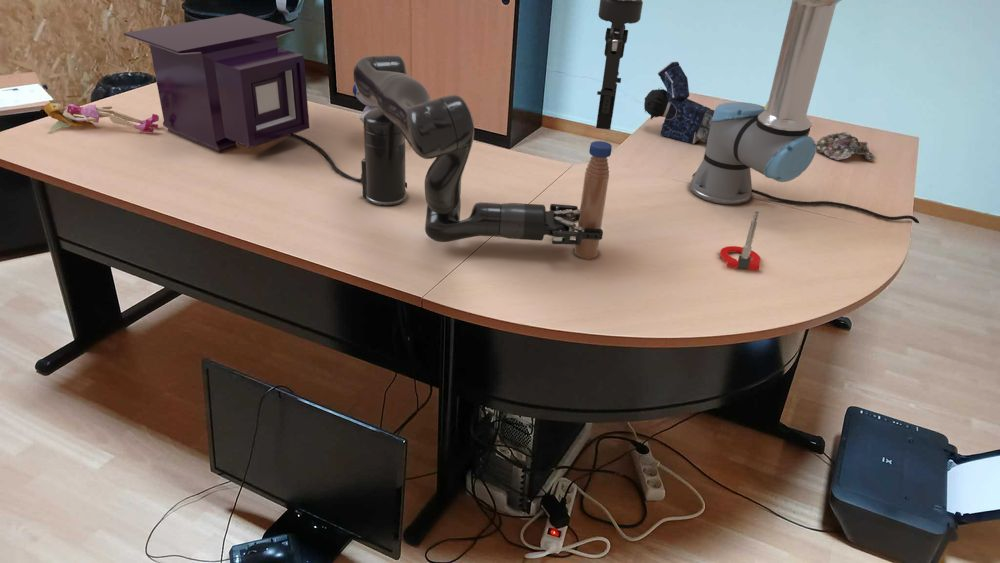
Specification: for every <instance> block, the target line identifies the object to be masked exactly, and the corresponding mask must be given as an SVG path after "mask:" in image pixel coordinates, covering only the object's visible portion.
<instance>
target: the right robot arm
mask: <svg viewBox="0 0 1000 563" xmlns="http://www.w3.org/2000/svg"><path fill="white" fill-rule="evenodd" d="M841 1H842V0H791V5H790V8H789V13H788V16H787V20H786V25H785V30H784V34H783V38H782V43H781V46H780V52H779V55H778V60H777V64H776V68H775V72H774V75H773V81H772V85H771V89H770V94H769V98H768V101H767V102H768V106H767V109H766V110H765V106H763V105H760V104H757V103H752V102H745V101H744V102H743V101H740V102H739V101H730V102H722V103H721V104H718V105H716V107H715V109H714V115H713V118H712V120H711V125H710V130H709V135H708V140H707V142H706V145H705V150H704V154H703V159H702V161H701V163H700V165H699V166H698V168H697V169H696V171H695V172H694V173H693V174H692V176H691V178H692V179H691V181H690V184H689V189H690V191H691V193H693V194H694V196H696V197H698V198H700V199H702V200H704V201H707V202H710V203H713V204H717V205H726V206H727V205H729V206H734V205H742V204H745V203H747V202H749V201H750V199H751V197H752V194H756V195H759V196H762V197H765V198H767V199H769V200H773V201H777V202H781V203H786V204H792V205H793V204H795V205H804V206H813V205H815V206H816V205H829V206H837V207H842V208H847V209H851V210H855V211H859V212H862V213H866V214H868V215H870V216H872V217H873V216H874V217H876V218H880V219H884V220H887V221H900V220H907V219H908V220H911V221H913V222H914V223H916V224H920V221H919V220H918V218H917V217H915V216H913V215H907V214H906V215H899V216H898V215H897V216H889V215H885V214H881V213H878V212H874V211H873V210H869V209H866V208H864V207H860V206H855V205H851V204H847V203H843V202H837V201H829V200H814V201H803V200H795V199H794V200H793V199H786V198H782V197H778V196H774V195H772V194H771V195H770V194H768V193H765V192H762V191H759V190H757V189H754V188H753V186H752V174H751V170H753V171H756V172H757V173H759V174H761V175H763V176H764V177H765V178H768V179H771V180H774V181H776V182H778V183H787V182H790V181H793V180H794V179H796V178H798V177H799V176H801V175H802V174H803V173H804V172H805V171H806V170H807V169H808V167H809V166H810V165H811V163H812V162H813V160H814V158H815V156H816V152H817V150H816V144H817V143H816V141H815V140H814V138H812V137H811V136H809V134H810V130H811V127H812V122H811V120H810V119H809V118H808V116H807V114H808V110H809V107H810V104H811V103H810V102H811V99H812V96H813V92H814V88H815V84H816V80H817V78H818V74H819V69H820V67H821V66H820V65H821V62H822V58H823V55H824V50H825V48H826V43H827V39H828V36H829V32H830V29H831V25H832V21H833V17H834V13H835V10H836V7H837V5H838V4H839V3H840V2H841ZM643 5H644V1H643V0H599V7H598V17H599V19H600V20H602V21H605V22H610V23H611V25H610V27H607V28H606V31H605V34H604V35H605V36H604V41H605V45H604V51H603V52H604V56H605V62H604V70H603V77H602V78H603V79H602V85H601V89H600V90H597V92H596V95H598V96H599V102H598V109H597V117H596V125H595V129H600V130H609V131H611V128H612V127H611V126H612V122H613V120H612V119H613V115H614V109H615V101H616V95H617V89H618V84H621V81H622V78H621V77H618V76H619V74H620V72H619V68H620V63H621V59H622V58H623V57H624V55H625V54H624V52H625V48H626V47H625V46H626V43H627V41H628V36H629V29H626V24H629V25H630V24H631V25H632V24H636V23H638V22H640V21H641V17H642V10H643Z"/></svg>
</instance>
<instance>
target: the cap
mask: <svg viewBox="0 0 1000 563" xmlns="http://www.w3.org/2000/svg"><path fill="white" fill-rule="evenodd" d="M588 152H589V155H590V156H591V157H592V156H594V157H599V158H606V157H607V158H609V157H610V156H611V155H612V154H611V153H612V144H611V143H609V142H608V141H607V142H606V141H601V140H595V141H592V142H590V145H589V151H588Z"/></svg>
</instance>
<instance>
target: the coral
mask: <svg viewBox="0 0 1000 563" xmlns="http://www.w3.org/2000/svg"><path fill="white" fill-rule="evenodd" d="M815 144H816V152H818V153H824V155H825V156H827V157H828V158H830V159H832V160H835V161H839V160H840V161H841V160H844V159H848V158H851V157H852V155H853V154H854V155H857V154H859V155H860V156H861V158H863V159H865V160H866V161H871V162H874V160H875V159H874V158H875V155H874V154H873V153H872V152H871V151H870V149H869V147H868V142H867V141H859V139H858V137H855V136H853V135H852V134H851V133H849V132H848V131H846V132H844V131H843V132H836V133H830V134H827V135H826V136H822V137H820V138H819V140H818V141H817V142H816V143H815ZM873 157H874V158H873Z"/></svg>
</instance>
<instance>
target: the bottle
mask: <svg viewBox="0 0 1000 563" xmlns="http://www.w3.org/2000/svg"><path fill="white" fill-rule="evenodd" d="M608 159H609V158H608V157H606V158H599V157H594V156H592V155H591V156H590V160H589V161H588V164H587V167H585V172H584V178H583V185H582V186H583V187H582V193H581V198H580V199H581V200H580V208H579V210H580V215H579V222H577V226H578V227H582V228H584V229H585V228H594V229H602V225H603V218H604V212H605V206H606V201H607V200H606V199H607V192H608V186H609V179H610V170H609V168H610V167H609V161H608ZM576 232H578V231H576ZM574 246H575V247H574V254H575V255H576V256H577V258H578V257H579V258H581V259H586V260H587V259H588V260H590V259H595V258H596V257H597V256H598V253H599V252H598V251H599V246H600V240H593V239H583V241H582V242H581V245H574Z"/></svg>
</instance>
